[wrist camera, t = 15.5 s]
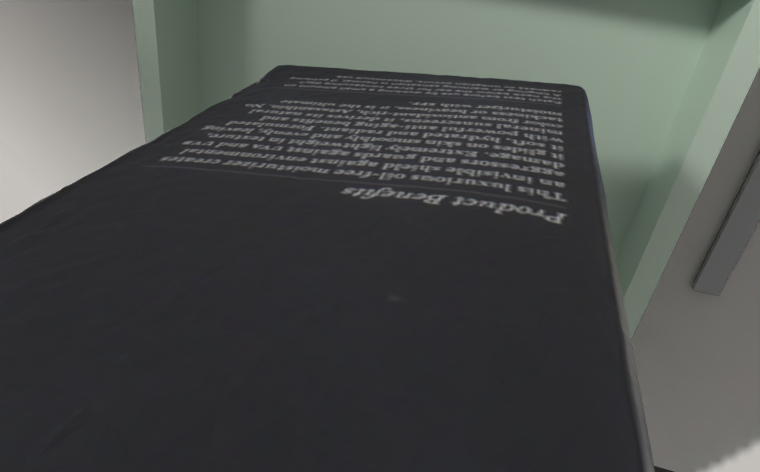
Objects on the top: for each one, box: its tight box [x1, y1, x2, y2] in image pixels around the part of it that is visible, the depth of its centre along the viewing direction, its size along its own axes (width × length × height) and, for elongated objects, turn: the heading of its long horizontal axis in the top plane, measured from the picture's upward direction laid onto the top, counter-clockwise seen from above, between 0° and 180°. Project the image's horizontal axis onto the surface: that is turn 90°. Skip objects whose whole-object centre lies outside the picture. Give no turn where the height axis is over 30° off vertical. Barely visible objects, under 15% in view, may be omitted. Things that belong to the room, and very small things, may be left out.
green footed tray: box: [132, 0, 760, 339], centre depth 17 cm, size 14×15×4 cm
